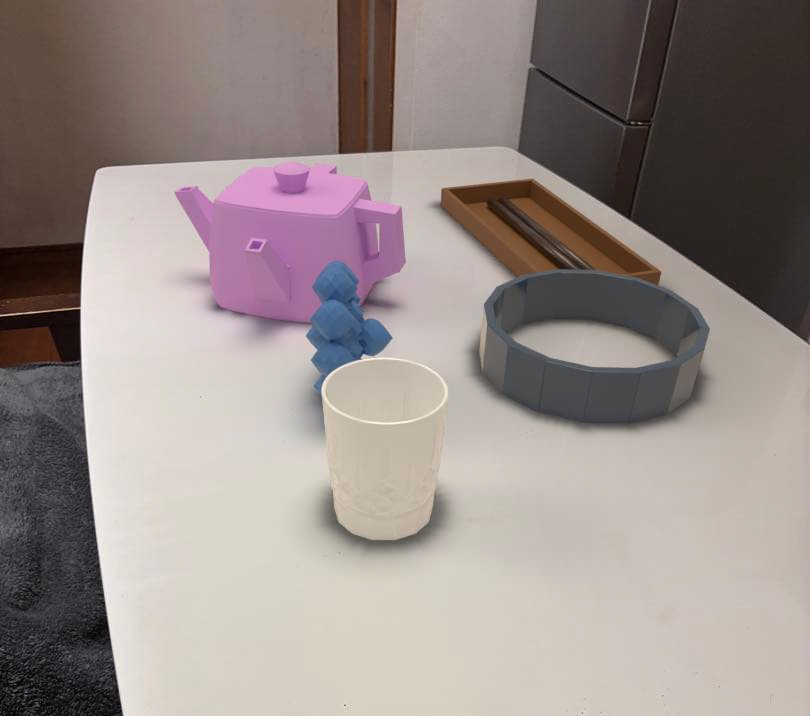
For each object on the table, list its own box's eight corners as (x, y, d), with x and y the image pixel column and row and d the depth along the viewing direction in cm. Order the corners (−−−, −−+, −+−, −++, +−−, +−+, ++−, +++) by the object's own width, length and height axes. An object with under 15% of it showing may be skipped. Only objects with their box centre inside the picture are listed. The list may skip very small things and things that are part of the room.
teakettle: (416, 311, 83) (421, 180, 75) (254, 353, 76) (240, 214, 68) (333, 248, 93) (329, 127, 85) (184, 280, 86) (165, 152, 78)
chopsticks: (504, 204, 103) (505, 194, 103) (606, 287, 87) (608, 276, 86) (484, 206, 103) (485, 196, 102) (584, 291, 86) (586, 279, 85)
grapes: (390, 444, 66) (393, 298, 58) (302, 442, 66) (293, 296, 58) (392, 367, 75) (395, 231, 67) (314, 365, 74) (308, 229, 66)
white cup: (393, 567, 55) (396, 439, 49) (303, 518, 59) (294, 392, 52) (461, 507, 60) (473, 384, 54) (374, 465, 64) (375, 344, 57)
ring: (562, 301, 85) (570, 252, 82) (732, 370, 76) (749, 319, 72) (436, 365, 75) (439, 312, 72) (614, 455, 66) (627, 399, 62)
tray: (440, 209, 103) (441, 187, 102) (530, 198, 107) (532, 178, 105) (550, 311, 84) (553, 287, 82) (656, 294, 87) (661, 271, 85)
